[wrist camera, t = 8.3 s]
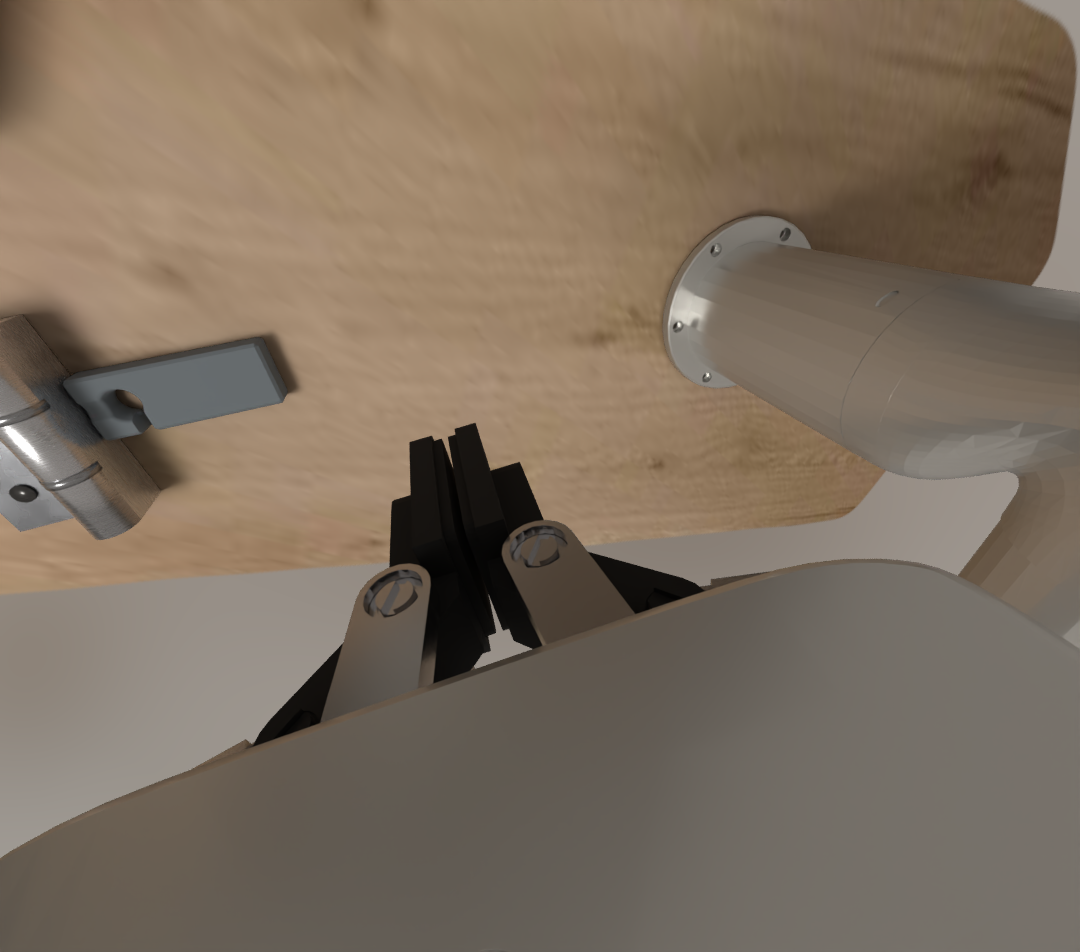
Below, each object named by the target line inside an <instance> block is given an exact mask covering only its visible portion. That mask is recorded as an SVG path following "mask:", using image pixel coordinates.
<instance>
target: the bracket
mask: <svg viewBox="0 0 1080 952" xmlns="http://www.w3.org/2000/svg"><path fill="white" fill-rule="evenodd" d="M62 385H63V386H64V388H65V389H66V390H67V392H68V393H69V394H70V395H71V397H72V398H73V399H74V401H75V402H76V403H78V404H79V405H81V406H82V407H83V408H84V409H85V410H86V411H87V413H88V414H89V416H90V418H91V422H92V424H93V425H94V426H95V428H96V429H97V430H98V432H99V433H100V434H101V435H102V437H103V438H104V439H106V440H109V441H111V440H115V439H120V438H124V437H129V436H133V435H138V434H142V433H143V432H144V431H145V430H146V429H147V428H148V427H149V426H150V425H151V424H152V425H153V426H154V427H155V428H156V429H165V428H170V427H174V426H179V425H183V424H188V423H192V422H197V421H201V420H206V419H210V418H215V417H220V416H224V415H229V414H233V413H238V412H242V411H247V410H251V409H256V408H260V407H265V406H269V405H274V404H278V403H283V401H284V399H285V397H286V395H287V392H288V391H287V388H286V386H285V384H284V382H283V380H282V378H281V376H280V374H279V372H278V370H277V367H276V365H275V363H274V361H273V359H272V357H271V355H270V353H269V351H268V349H267V346H266V344H265V342H264V340H263V339H262V338H260V337H255V338H250V339H245V340H240V341H235V342H230V343H225V344H220V345H214V346H209V347H204V348H199V349H194V350H189V351H184V352H179V353H174V354H169V355H164V356H158V357H153V358H148V359H143V360H138V361H133V362H128V363H123V364H118V365H113V366H108V367H103V368H97V369H92V370H87V371H82V372H77V373H75V374H74V375H72V376H70V377H69V378H67V379H66V380H65V381H64V382H63V384H62ZM117 389H120V390H125V391H128V392H130V393H132V394H134V395H135V396H137V397H138V398H139V399H140V400H141V402H142V404H143V409H144V412H143V410H142V409H134V408H130V407H128V406H126V405H124V404H122V403H121V402H120V401H119V400H118V399H117V397H116V393H115V390H117Z"/></svg>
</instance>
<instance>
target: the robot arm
mask: <svg viewBox="0 0 1080 952" xmlns="http://www.w3.org/2000/svg"><path fill="white" fill-rule="evenodd" d="M673 325H674V326H673ZM663 338H664V345H665V348H666V351H667V354H668V357H669V359H670V360H671V362H672V363H673V365H674V367H675V368H676V369H677V370H678V371H679V372H680V373H681V374H682V375H683V376H684V377H686V378H688V379H689V380H691V381H692V382H694V383H696V384H698V385H700V386H703V387H709V388H728V387H732V386H736V385H739V386H740V387H742V388H744V389H746V390H747V391H749V392H751V393H752V394H754V395H756V396H757V397H759V398H761V399H763V400H764V401H766V402H768V403H769V404H771V405H773V406H774V407H776V408H778V409H780V410H781V411H783V412H785V413H786V414H788V415H790V416H791V417H793V418H795V419H796V420H798V421H800V422H802V423H803V424H805V425H807V426H808V427H810V428H812V429H813V430H815V431H817V432H819V433H820V434H822V435H824V436H825V437H827V438H829V439H830V440H832V441H834V442H835V443H837V444H839V445H841V446H842V447H844V448H846V449H847V450H849V451H851V452H852V453H854V454H856V455H858V456H860V457H862V458H863V459H865V460H867V461H869V462H870V463H872V464H874V465H876V466H878V467H880V468H882V469H884V470H886V471H889V472H892V473H895V474H898V475H901V476H906V477H911V478H917V479H929V480H930V479H931V480H941V479H955V478H964V477H972V476H980V475H986V474H992V473H998V472H1005V471H1008V472H1011V473H1014V474H1015V475H1016V476H1017V477H1018V479H1019V487H1018V490H1017V493H1016V495H1015V496H1014V497H1013V499H1012V500H1011V502H1010V503H1009V505H1008V506H1007V508H1006V510H1005V511H1004V512H1003V514H1002V516H1001V520H1000V521H999V523H998V524H997V525H996V527H995V528H994V529H993V530H992V532H991V533H990V534H989V536H988V537H987V538H986V539H985V541H984V542H983V543H982V545H981V546H980V547H979V549H978V550H977V551H976V553H975V554H974V555H973V556H972V558H971V559H970V560H969V562H968V563H967V564H966V566H965V567H964V568H963V569H962V571H961V572H960V574H959V575H958V576H957V575H955V574H952V573H950V572H947V571H945V570H942V569H940V568H936V567H932V566H929V565H925V564H921V563H916V562H909V561H901V560H890V559H842V560H832V561H823V562H815V563H807V564H802V565H797V566H793V567H788V568H783V569H778V570H774V571H770V572H763V573H754V574H747V575H740V576H732V577H724V578H717V579H711V583H710V584H711V585H708V586H701V587H699V586H698V585H697V584H695V583H693V582H691V581H688V580H686V579H684V578H680V577H677V576H673V575H669V574H666V573H662V572H658V571H655V570H651V569H648V568H644V567H640V566H637V565H633V564H630V563H626V562H622V561H619V560H615V559H612V558H608V557H605V556H601V555H597V554H593V553H590V552H588V551H587V550H586V549H585V548H584V546H583V545H582V544H581V542H580V541H579V540H578V538H577V537H576V536H575V534H574V533H573V532H572V531H571V530H570V529H569V528H568V527H567V526H566V525H564V524H562V523H559V522H557V521H550V520H544V519H543V517H542V515H541V512H540V510H539V507H538V505H537V502H536V500H535V498H534V495H533V493H532V490H531V488H530V486H529V483H528V481H527V478H526V476H525V473H524V471H523V469H522V466H521V464H520V462H518V463H514V464H511V465H508V466H505V467H501V468H498V469H495V470H491V471H490V468H489V464H488V461H487V458H486V455H485V452H484V448H483V445H482V442H481V439H480V436H479V433H478V429H477V426H476V423H473V424H470V425H466V426H463V427H460V428H456V429H455V434H456V435H453V436H449V437H448V440H449V446H450V452H451V458H452V463H453V467H452V464H451V462H450V459H449V456H448V454H447V451H446V448H445V446H444V443H443V441H442V439H439V440H436V441H434V439H433V437H432V436H429V437H426V438H422V439H419V440H415V441H412V442H410V485H411V495H410V496H406V497H403V498H400V499H396V500H394V501H392V509H391V538H390V566H389V568H387V569H385V570H384V571H382V572H380V573H378V574H377V575H375V576H374V577H373V578H372V579H370V580H369V581H368V582H367V583H366V584H365V586H364V587H363V588H362V589H361V590H360V592H359V595H358V597H357V599H356V601H355V605H354V608H353V611H352V615H351V619H350V622H349V625H348V629H347V632H346V635H345V639H344V642H343V644H342V645H341V646H340V647H339V648H338V649H337V650H336V651H335V652H334V653H333V654H332V655H331V656H330V657H329V658H328V659H327V661H326V662H325V663H324V664H323V665H322V666H321V667H320V668H319V669H318V670H317V671H316V672H315V673H314V674H313V675H312V676H311V677H310V678H309V679H308V681H307V682H306V683H305V684H304V685H303V686H302V687H301V688H300V689H299V690H298V691H297V692H296V693H295V694H294V696H292V697H291V698H290V699H289V700H288V702H287V703H286V704H285V705H284V706H283V707H282V708H281V709H280V710H279V711H278V712H277V713H276V714H275V715H274V716H273V717H272V718H271V719H270V721H269V722H268V723H267V724H266V726H265V727H264V728H263V729H262V731H261V732H260V733H259V735H258V737H257V739H256V741H255V742H254V743H252V744H251V743H249V741H247V740H246V739H245V740H244V741H242V742H240V743H238V744H236V745H235V746H233V747H231V748H229V749H227V750H225V751H224V752H222V753H220V754H218V755H216V756H215V757H213V758H211V759H209V760H207V761H205V762H204V763H202V764H200V765H198V766H196V767H195V768H193V769H191V770H189V771H186V772H183V773H181V774H178V775H175V776H172V777H170V778H167V779H164V780H162V781H159V782H156V783H154V784H151V785H149V786H146V787H144V788H141V789H139V790H136V791H134V792H131V793H129V794H126V795H124V796H122V797H119V798H116V799H114V800H111V801H109V802H106V803H104V804H102V805H100V806H97V807H95V808H93V809H91V810H89V811H87V812H85V813H82V814H80V815H78V816H76V817H74V818H72V819H70V820H68V821H66V822H63V823H61V824H59V825H57V826H55V827H53V828H52V829H50V830H48V831H46V832H44V833H42V834H41V835H39V836H37V837H35V838H33V839H32V840H30V841H28V842H26V843H24V844H22V845H21V846H19V847H17V848H16V849H13V850H12V851H10V852H9V853H7V854H6V855H4V856H3V857H1V858H0V952H1080V293H1077V292H1071V291H1063V290H1056V289H1049V288H1041V287H1034V286H1028V285H1022V284H1016V283H1010V282H1004V281H998V280H992V279H986V278H979V277H972V276H966V275H960V274H954V273H948V272H942V271H936V270H930V269H925V268H919V267H913V266H907V265H901V264H895V263H889V262H883V261H877V260H871V259H866V258H860V257H854V256H848V255H842V254H836V253H830V252H824V251H818V250H812V249H811V246H810V244H809V242H808V240H807V239H806V237H805V235H804V234H803V233H802V232H801V231H800V230H799V229H798V228H797V227H796V226H795V225H794V224H792V223H790V222H788V221H786V220H784V219H782V218H777V217H771V216H754V215H753V216H748V217H744V218H739V219H736V220H734V221H732V222H730V223H727V224H725V225H723V226H721V227H720V228H718V229H717V230H716V231H714V232H713V233H711V234H710V235H708V236H707V237H706V238H705V239H704V240H703V241H702V242H701V243H700V244H699V245H698V246H697V247H696V248H695V249H694V250H693V251H692V253H691V254H690V255H689V256H688V258H687V259H686V260H685V262H684V263H683V264H682V266H681V268H680V270H679V272H678V273H677V275H676V277H675V279H674V281H673V283H672V286H671V288H670V291H669V294H668V296H667V300H666V305H665V309H664V314H663ZM453 469H454V470H453ZM488 594H489V595H488ZM489 596H490V599H491V601H492V604H493V606H494V609H495V611H496V614H497V617H498V619H499V621H500V624H501V627H502V629H503V630H506V629H509V630H510V632H511V635H512V637H513V640H514V641H516V642H518V643H520V644H523V645H525V646H527V647H530V648H532V650H529V651H527V652H523V653H521V654H518V655H515V656H512V657H509V658H506V659H503V660H500V661H497V662H494V663H491V664H489V665H486V666H483V667H480V668H477V669H475V667H474V665H475V664H476V662H477V661H478V659H479V658H480V656H481V655H482V654H483V653H486V652H489V651H491V650H490V644H489V639H488V636H489V635H492V634H495V633H496V629H495V624H494V619H493V614H492V609H491V604H490V600H489Z"/></svg>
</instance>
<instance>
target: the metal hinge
mask: <svg viewBox="0 0 1080 952" xmlns="http://www.w3.org/2000/svg"><path fill="white" fill-rule="evenodd" d="M69 377H70V374H69V373H68V372H67V371H66V369H65V368H64V367H63V365H62V364H61V363H60V362H59V360H58V359H57V358H56V356H55V355H54V354H53V353H52V351H51V350H50V349H49V348H48V346H47V345H46V344H45V342H44V341H43V340H42V339H41V337H40V336H39V335H38V334H37V332H36V331H35V330H34V328H33V327H32V326H31V325H30V323H29V322H28V321H27V320H26V318H25V317H24V316H23V314H22V315H17V316H12V317H7V318H2V319H0V513H1V514H2V515H3V516H4V517H5V518H6V519H7V520H8V521H9V522H11V523H12V524H13V525H14V526H15V527H16V528H17V529H18V530H19V531H20V532H21V531H25V530H29V529H33V528H37V527H40V526H44V525H48V524H52V523H56V522H60V521H64V520H67V519H71V518H75V519H76V520H77V521H78V522H79V523H80V524H81V525H82V526H83V527H84V528H85V529H86V530H87V531H88V532H89V533H90V534H91V535H92V536H93V537H94V538H95V539H97V540H104V539H109V538H112V537H115V536H117V535H120V534H122V533H124V532H126V531H127V530H129V529H131V528H132V527H134V526H135V525H136V524H137V523H138V522H139V521H140V520H141V519H142V517H143V516H144V515H145V513H146V512H147V510H148V509H149V508H150V506H151V505H152V503H153V502H154V501H155V499H156V498H157V496H158V495H159V494H160V492H161V490H160V489H159V488H158V486H157V485H156V484H155V483H154V481H153V480H152V479H151V477H150V476H149V475H148V474H147V472H146V471H145V470H144V469H143V467H142V466H141V465H140V463H139V462H138V461H137V460H136V458H135V457H134V456H133V455H132V453H131V452H130V451H129V449H128V448H127V447H126V446H125V444H124V443H123V442H122V441H121V439H115V440H111V441H109V440H106V439H104V438H103V437H102V435H101V434H100V433H99V432H98V430H97V429H96V428H95V426H94V425H93V424H92V422H91V418H90V416H89V414H88V413H87V411H86V410H85V409H84V408H83V407H82V406H81V405H79V404H78V403H76V402H75V401H74V399H73V398H72V397H71V395H70V394H69V393H68V392H67V390H66V389H65V388H64V386H63V385H62V384H63V382H64V381H65V380H66V379H67V378H69Z"/></svg>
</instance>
